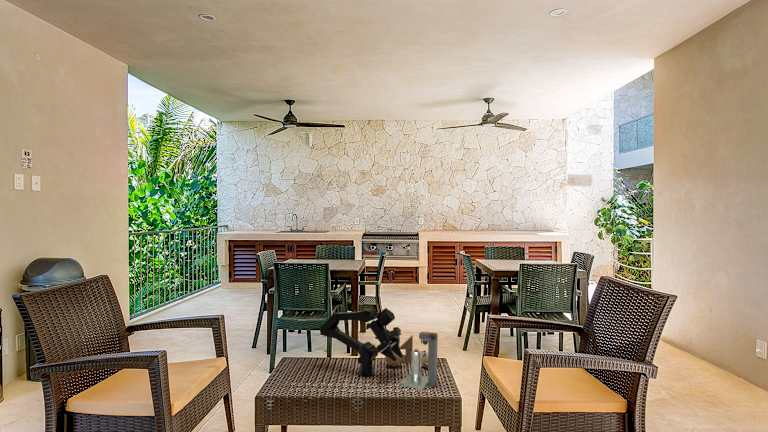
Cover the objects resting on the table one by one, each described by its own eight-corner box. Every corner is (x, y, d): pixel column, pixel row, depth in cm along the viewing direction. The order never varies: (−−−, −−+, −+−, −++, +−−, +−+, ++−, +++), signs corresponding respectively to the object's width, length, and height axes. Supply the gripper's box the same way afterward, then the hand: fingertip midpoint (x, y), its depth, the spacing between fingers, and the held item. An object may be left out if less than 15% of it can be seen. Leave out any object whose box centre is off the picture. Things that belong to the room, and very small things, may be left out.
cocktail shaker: (409, 380, 209) (409, 349, 210) (413, 377, 214) (413, 347, 214) (418, 382, 207) (418, 351, 207) (422, 379, 211) (423, 348, 212)
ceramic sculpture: (417, 345, 243) (443, 351, 235) (416, 361, 243) (442, 367, 235) (408, 350, 233) (435, 356, 226) (407, 367, 234) (434, 373, 226)
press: (394, 388, 202) (394, 336, 203) (409, 376, 219) (410, 327, 220) (427, 394, 196) (427, 340, 196) (440, 381, 213) (440, 331, 213)
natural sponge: (397, 370, 228) (398, 350, 228) (382, 368, 231) (382, 348, 232) (404, 365, 236) (405, 346, 236) (389, 363, 240) (389, 344, 240)
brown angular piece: (412, 363, 240) (412, 329, 240) (392, 362, 241) (392, 328, 242) (412, 361, 244) (412, 327, 244) (392, 360, 245) (393, 327, 246)
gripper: (385, 323, 208) (405, 352, 204) (398, 319, 226) (417, 345, 221) (367, 338, 211) (387, 366, 206) (381, 333, 228) (400, 359, 223)
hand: (398, 359), depth 214 cm, fingers open, 9 cm apart
